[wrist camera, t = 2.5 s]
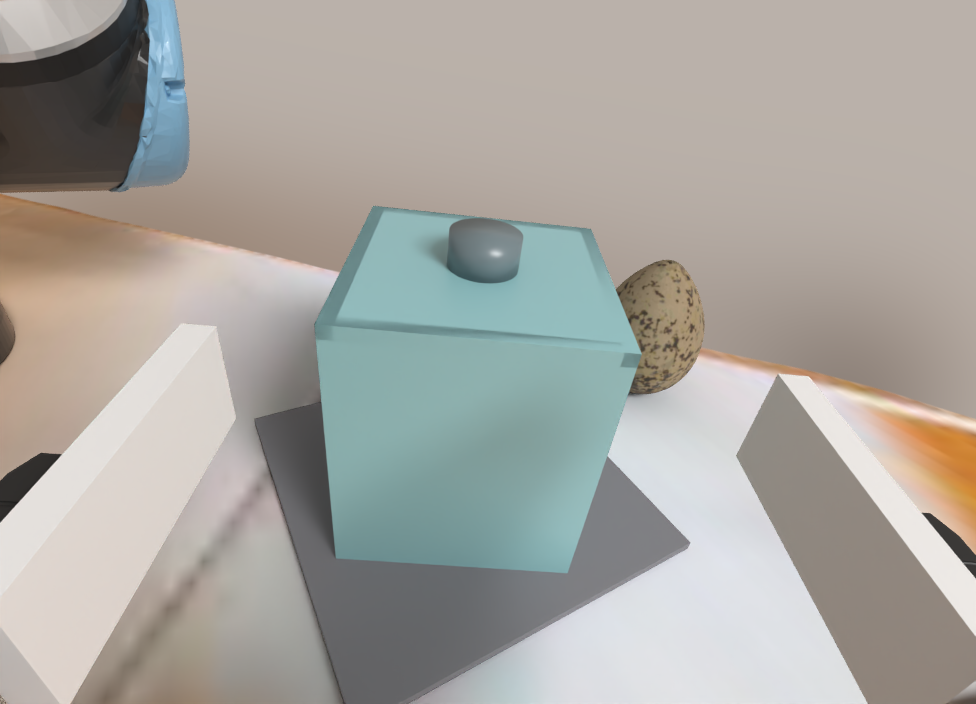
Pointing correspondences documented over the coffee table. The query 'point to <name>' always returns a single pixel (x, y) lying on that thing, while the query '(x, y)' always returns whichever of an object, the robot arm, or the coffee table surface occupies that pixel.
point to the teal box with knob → (469, 389)
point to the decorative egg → (663, 324)
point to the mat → (442, 577)
